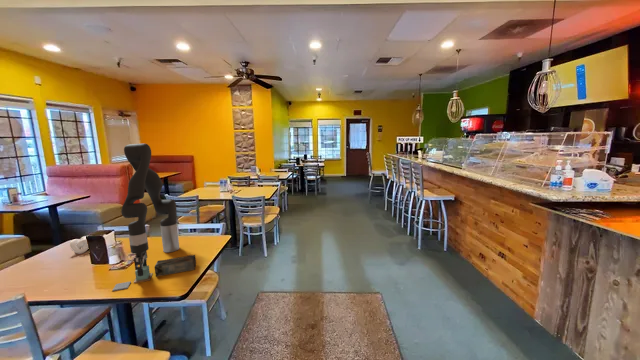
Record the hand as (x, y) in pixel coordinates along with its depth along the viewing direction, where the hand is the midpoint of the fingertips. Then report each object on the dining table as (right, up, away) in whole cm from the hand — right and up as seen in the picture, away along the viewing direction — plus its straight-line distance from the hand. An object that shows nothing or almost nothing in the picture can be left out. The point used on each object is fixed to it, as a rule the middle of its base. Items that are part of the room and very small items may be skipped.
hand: (142, 271), depth 138 cm
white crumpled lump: (-63, 0, +36) cm, 73 cm away
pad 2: (0, -4, +1) cm, 4 cm away
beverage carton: (+13, -3, +9) cm, 16 cm away
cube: (0, -3, 0) cm, 3 cm away
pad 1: (-6, -5, -7) cm, 10 cm away
